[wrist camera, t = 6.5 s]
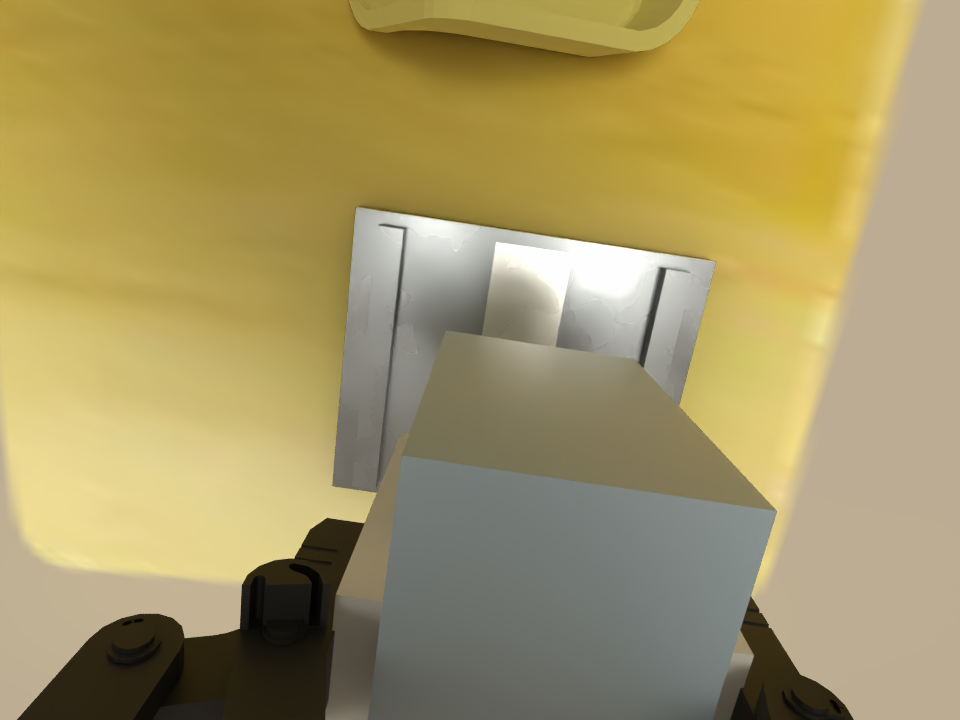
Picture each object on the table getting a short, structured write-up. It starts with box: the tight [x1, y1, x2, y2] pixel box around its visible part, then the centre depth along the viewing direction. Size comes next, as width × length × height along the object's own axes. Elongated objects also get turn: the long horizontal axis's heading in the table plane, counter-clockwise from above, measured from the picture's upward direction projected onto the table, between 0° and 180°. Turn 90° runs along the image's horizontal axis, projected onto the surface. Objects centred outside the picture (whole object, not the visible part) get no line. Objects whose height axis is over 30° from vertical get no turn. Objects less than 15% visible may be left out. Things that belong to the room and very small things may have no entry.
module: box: [368, 330, 777, 720], centre depth 13 cm, size 9×5×8 cm, turn 171°
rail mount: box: [332, 207, 716, 493], centre depth 25 cm, size 12×14×2 cm
